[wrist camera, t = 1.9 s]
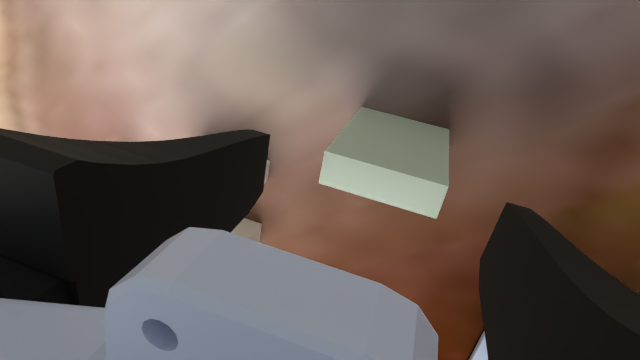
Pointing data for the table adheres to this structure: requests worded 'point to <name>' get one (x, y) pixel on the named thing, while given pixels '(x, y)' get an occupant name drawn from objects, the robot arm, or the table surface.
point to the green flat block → (390, 161)
